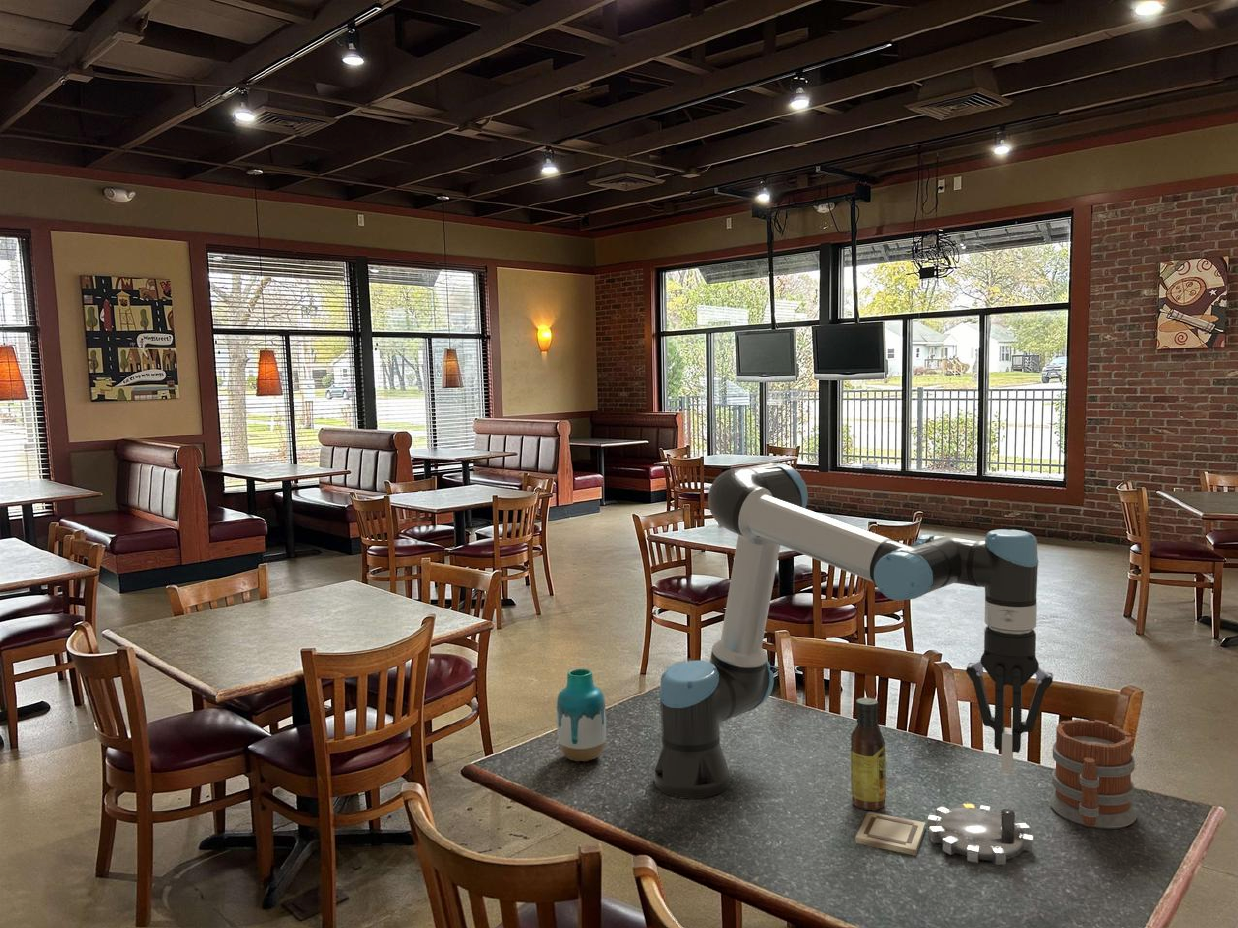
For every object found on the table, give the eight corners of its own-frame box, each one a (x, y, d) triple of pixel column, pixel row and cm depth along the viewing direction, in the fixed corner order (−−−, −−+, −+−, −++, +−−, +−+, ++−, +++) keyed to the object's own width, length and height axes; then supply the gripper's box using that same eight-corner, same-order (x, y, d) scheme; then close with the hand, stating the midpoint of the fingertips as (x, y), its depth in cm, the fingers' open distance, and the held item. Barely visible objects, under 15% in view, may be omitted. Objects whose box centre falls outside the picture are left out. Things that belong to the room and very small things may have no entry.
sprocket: (986, 873, 140) (986, 831, 139) (907, 831, 154) (907, 793, 153) (1049, 842, 148) (1050, 803, 148) (969, 805, 162) (969, 769, 161)
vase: (616, 753, 192) (613, 668, 190) (589, 772, 183) (585, 683, 181) (577, 744, 197) (573, 661, 196) (548, 762, 189) (544, 675, 187)
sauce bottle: (887, 813, 162) (886, 708, 160) (852, 810, 163) (851, 707, 161) (884, 796, 168) (883, 695, 166) (850, 794, 169) (849, 694, 167)
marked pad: (855, 842, 152) (855, 836, 152) (868, 816, 161) (868, 810, 160) (915, 855, 147) (915, 849, 147) (925, 827, 156) (925, 821, 156)
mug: (1137, 802, 162) (1138, 724, 161) (1135, 851, 146) (1137, 764, 145) (1052, 787, 170) (1053, 711, 168) (1042, 832, 153) (1043, 749, 152)
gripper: (963, 629, 140) (961, 771, 142) (1054, 638, 134) (1050, 787, 136) (969, 617, 146) (966, 753, 149) (1056, 625, 140) (1052, 767, 143)
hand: (1007, 769), depth 142 cm, fingers closed
